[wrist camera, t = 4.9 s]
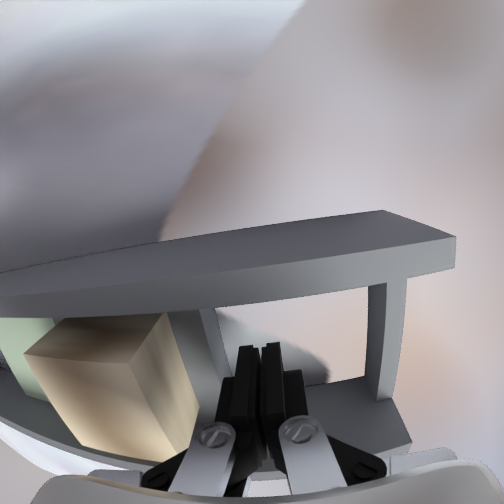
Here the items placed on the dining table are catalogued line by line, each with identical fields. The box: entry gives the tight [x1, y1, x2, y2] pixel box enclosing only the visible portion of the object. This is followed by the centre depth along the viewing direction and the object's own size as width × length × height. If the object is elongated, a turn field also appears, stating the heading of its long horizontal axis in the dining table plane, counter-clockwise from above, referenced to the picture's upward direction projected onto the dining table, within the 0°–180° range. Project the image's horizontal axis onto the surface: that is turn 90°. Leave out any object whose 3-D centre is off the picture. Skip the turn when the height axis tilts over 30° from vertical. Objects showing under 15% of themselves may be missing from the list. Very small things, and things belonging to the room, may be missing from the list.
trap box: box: [0, 210, 456, 481], centre depth 13 cm, size 38×11×6 cm, turn 99°
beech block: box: [23, 312, 200, 462], centre depth 11 cm, size 6×6×4 cm
